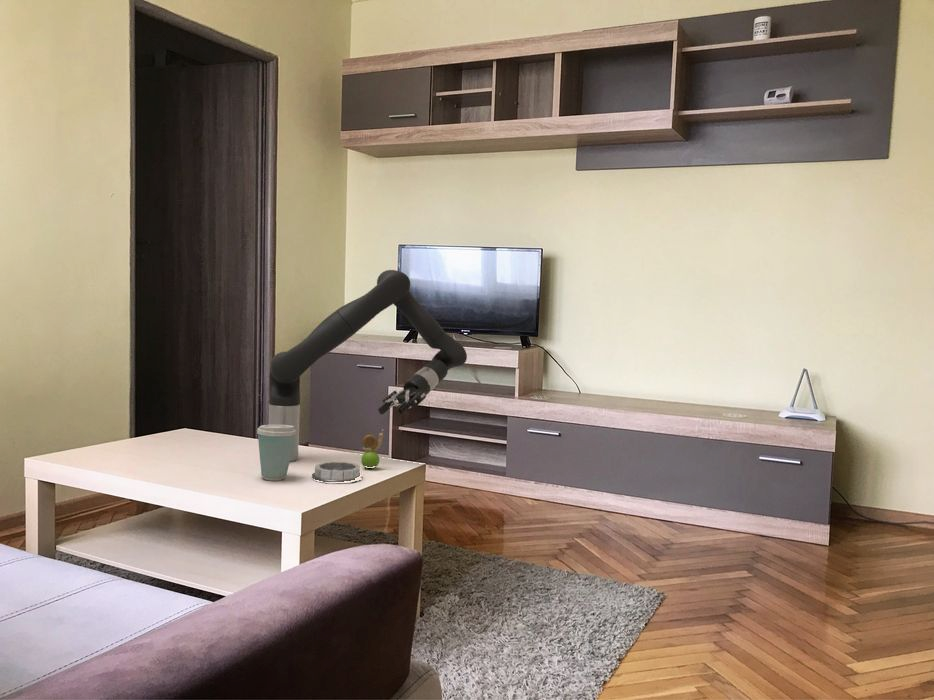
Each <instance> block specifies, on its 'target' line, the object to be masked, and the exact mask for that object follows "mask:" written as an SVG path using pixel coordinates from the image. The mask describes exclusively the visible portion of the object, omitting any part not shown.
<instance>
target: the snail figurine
mask: <svg viewBox="0 0 934 700" xmlns="http://www.w3.org/2000/svg"><path fill="white" fill-rule="evenodd" d="M381 431H382V432H380V433H379V434H378V438H377V437H376V436H375V435H374V434H367V435H365V436H364V437H363V439H362V445H363V446H364V447H362V449H363V451H365V452H364V453H363V454H362V455H361V457H360V458H361V459H360V463H361V464H362V467H364V466H367V467H373V466H377V467H378V466H379V464H380V456H379V454H378V453H377V452H376V451H377V450H379V449H380V448H381V445H382V442H383V438H384V435H385V434H384V431H385V430H384V429H383V428H382V429H381Z"/></svg>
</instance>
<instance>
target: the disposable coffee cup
mask: <svg viewBox="0 0 934 700" xmlns="http://www.w3.org/2000/svg"><path fill="white" fill-rule="evenodd" d="M294 428H295V427H294V426H290V425H269V424H262V425H260V426H259V427H258V428H256V433H257V439H258V441H257V442H258V451H259V462H260V463H259V464H260V474H261V477H262V479H263V480H266V481H282V479H283V480H285V479H286V477H287V476H288V471H289V467H290V466H289V465H290V457H291V452H292V447H293V442H294V438H295V434H296V430H295V429H294ZM284 478H285V479H284Z"/></svg>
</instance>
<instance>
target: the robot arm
mask: <svg viewBox="0 0 934 700" xmlns="http://www.w3.org/2000/svg"><path fill="white" fill-rule="evenodd" d="M410 289H411V280H410V278H409V276H408V274H406V273H404V272H403V271H400V270H397V269H396V270H395V269H388V270H385V271H383V272H381V273H380V274H379V276H377V279H376V285H375V286H374V287H372V288H371V289H370V290H369V291H367V293H365V294H364V295H362V296H360V297H358V298H356V299H353V300H351V301H350V302H347V303H346V304H344V305H342V306H340V307H339V308H337V309H335V311H333V312H332V313H331V314H330V315H328V316H327V317H325V319H324V320H322V321H321V322H320V323H319V324H318V325H317V326H316V327H315V328H314V329H313V330H312V331H311V332H310V333H309V335H307V337H306V338H304V339H303V340H302V341H301V342H299V343H298V344H297V345H295V346H294V347H292V348H290V349H288V350H287V351H281V352H278V353H276V354H275V355H274V356H273V357H272V358H271V361H270V363H269V364H270V365H269V378H268V379H269V385H268V386H269V388H268V395H269V397H268V399H269V400H268V425H290V426H294V427H295V428H294V429H295V430H296V434H295V438H294V442H293V447H292V452H291V457H290V461H291V462H296V461H298V460H299V445H300V443H299V442H300V415H301V414H300V413H301V411H300V410H301V388H300V386H301V376H302V375H303V374H304V373H305V372H306V371H307V370H308V369H309V368H310V367H312V365H314V364H315V363H316V361H318V360H319V359H321V358H322V357H323V356H325V355H327V354H329V353H331V351H333V350H335V349H336V348H337V347H339V346H340V345H342V344H343V343H345V342H346V341H347V340H348V339H350V338H351V337H353V336H354V335H355V334H356V333H357V332H359V331H360V330H361V329H362V328H364V327H365V326H366V325H367V324H368V323H370V322H371V321H372V320H373V319H374V318H376V316H377V315H379V314H380V313H381V312H383V311H384V310H386V309H387V308H389V307H391V306H393V305H394V306H395V307H396V308H397V309H398V310H399V312H401V313H402V315H404V317H405V318H406V319H407V320H408V321H409V323H410V324H411V325H412V326H413V328H414V329H415V330H416V332H417V333H418V335H419V336H420V337H421V338H422V339H423V340H424V342H425V344H427V345H428V346H429V348H431V349H434V350H439V351H437V352H436V353H435V354H434V356H433V357H432V358H431V360H430V361H429V362H428V363H427V364H425V365H424V367H422V368H421V369H419V370H418V371H416V372H415V373H414V374H413V375H412V376H411V377H409V378H408V379H407V380H406V381H405V382H404V384H403V389H402V390H399V391H398V392H397V390H393V391H392V392H391V393H390V394H388V395H387V396H386V397H385V398H384V399H382V402H383V404H381V406H379V408H378V409H377V411H378V413H379V415H384V414H385V413H386V412H387V411H389V410H390V409H392V408H393V407H396V412H397V414H398V415H399V416H400V415H403V414H404V413H405V412H407V410H408V409H411V408H412V407H413V408H416V407H418V406H419V405H420V404H421V403H422V402H423V401H424V400H425V399H426V398H427V396H428V395H429V393H430V392H432V391H433V389H435V388H436V386H437V385H438V384H439V383H440V382H442V381H443V380H444V379H445V378H446V377H447V376H448V370H450V369H453V368H456V367H457V368H458V367H460V366H463V365H464V364H465V363H466V362H467V358H468V356H467V351H466V349H465V347H464V346H463V345H462V344H461V343H460V342H458V341H457V340H456V339H455V338H454V337H452V336H451V335H450V334H448V333H447V332H446V331H445V329H444V328H443V327H442V326H441V325H440V324H439V322H437V320H436V319H435V318H434V317H433V316H432V315H431V313H429V312H428V311H427V309H425V308H424V307H423V306H422V305H421V304H420V303H419V302H418V300H416V299H415V297H414V296H413V295H412V292H410ZM297 459H298V460H297ZM295 460H296V461H295Z"/></svg>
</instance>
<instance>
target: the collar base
mask: <svg viewBox="0 0 934 700" xmlns="http://www.w3.org/2000/svg"><path fill="white" fill-rule="evenodd" d="M360 472H361V466H360V464H357V463H355V462H348V461H324V462H320V463H316V464H315V465H314V472H313V473H312V474H311V478H313V479H315V480H319V481H323V482H344V481H351V480H355V478H357V477H359V476H360ZM313 479H312V480H313Z"/></svg>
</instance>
